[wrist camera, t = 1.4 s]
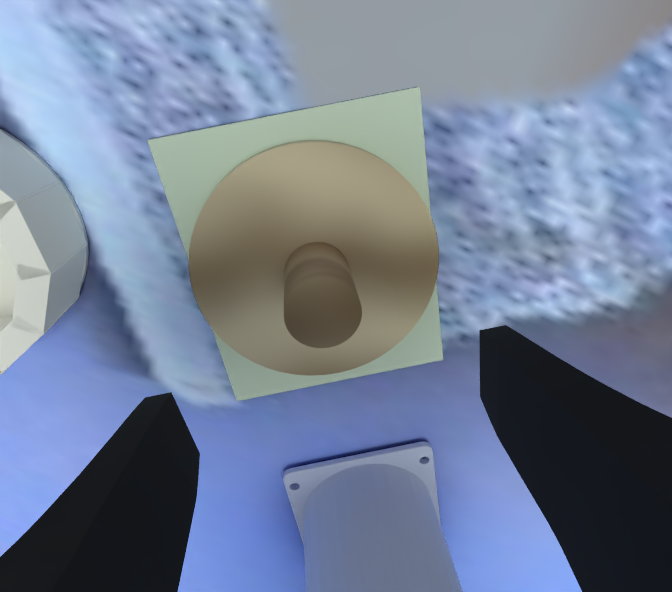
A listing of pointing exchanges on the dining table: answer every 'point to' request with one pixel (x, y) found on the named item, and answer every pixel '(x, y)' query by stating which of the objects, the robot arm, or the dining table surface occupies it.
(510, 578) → the dining table surface
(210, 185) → the mat
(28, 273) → the bowl
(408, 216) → the lid
